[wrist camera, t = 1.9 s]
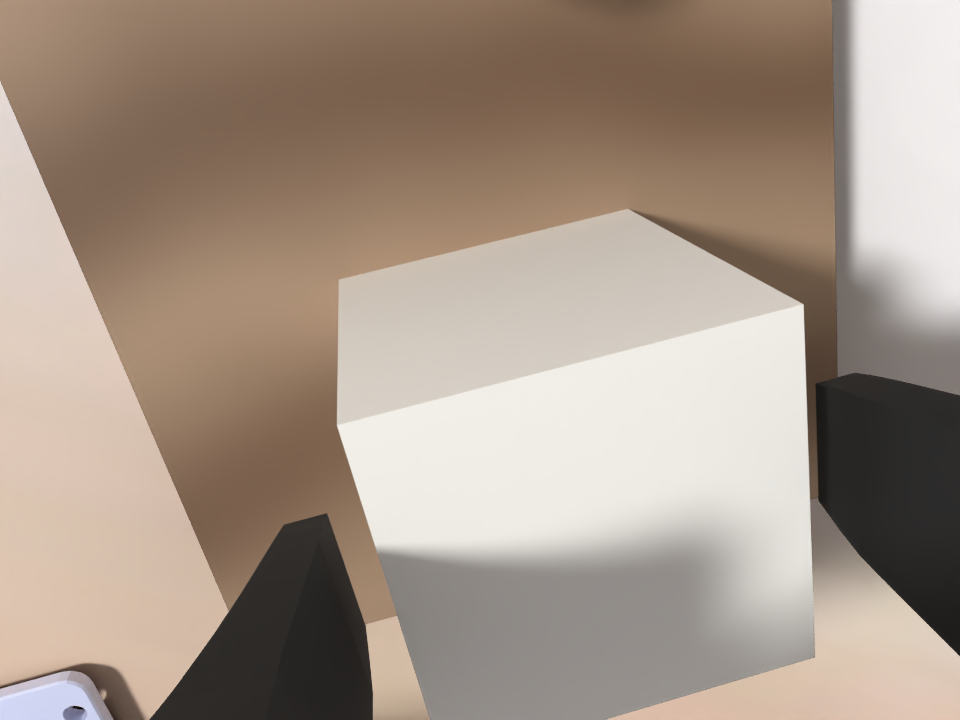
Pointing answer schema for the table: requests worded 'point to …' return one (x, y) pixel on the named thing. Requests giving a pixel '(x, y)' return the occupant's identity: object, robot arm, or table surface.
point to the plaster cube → (581, 468)
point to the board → (391, 193)
